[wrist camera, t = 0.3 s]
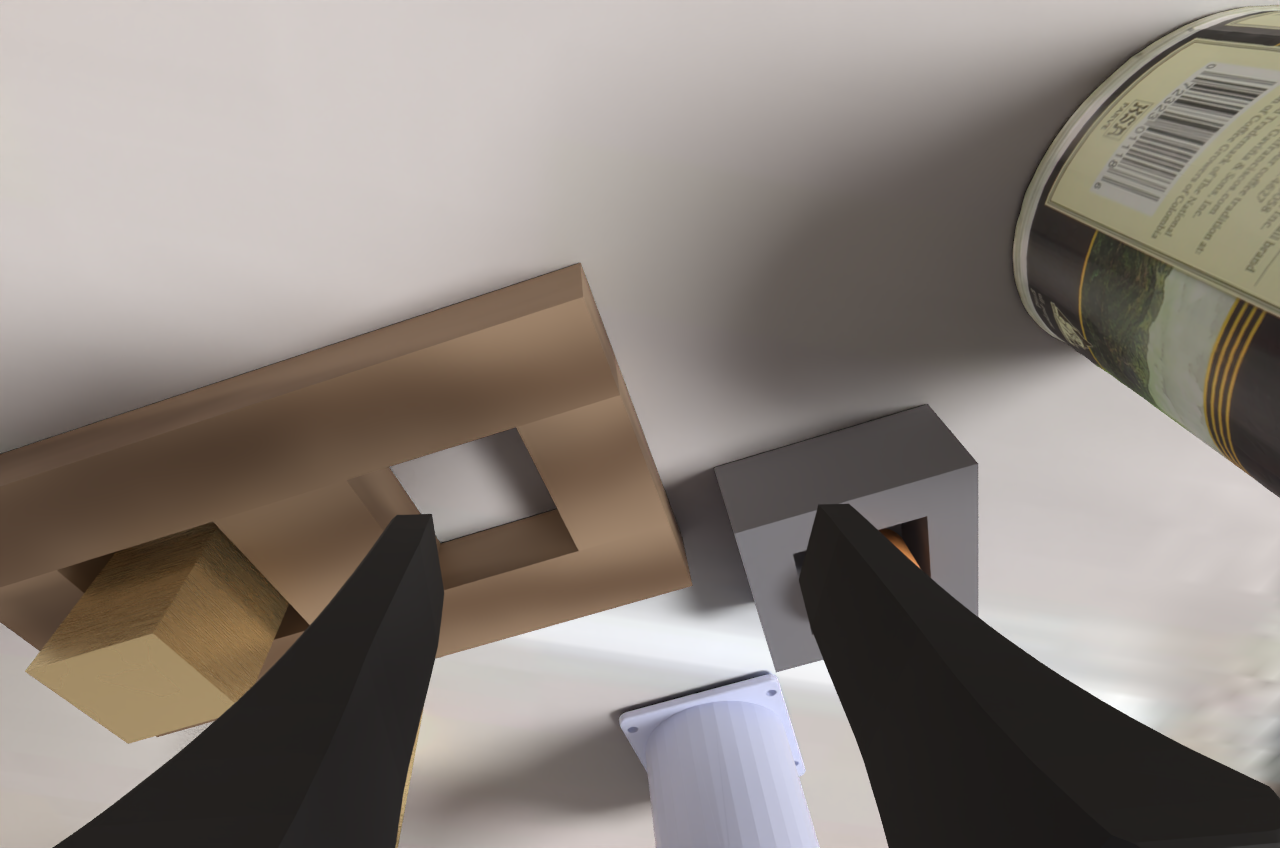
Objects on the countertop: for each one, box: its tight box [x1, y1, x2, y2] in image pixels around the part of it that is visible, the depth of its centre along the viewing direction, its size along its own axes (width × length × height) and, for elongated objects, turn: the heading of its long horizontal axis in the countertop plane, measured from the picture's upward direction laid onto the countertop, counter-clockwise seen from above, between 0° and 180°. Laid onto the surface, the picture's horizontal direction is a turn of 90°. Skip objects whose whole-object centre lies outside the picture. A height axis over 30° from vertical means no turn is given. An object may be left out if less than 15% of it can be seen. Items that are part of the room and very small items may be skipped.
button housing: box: [714, 404, 978, 672], centre depth 25 cm, size 8×8×4 cm
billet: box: [25, 522, 289, 744], centre depth 22 cm, size 4×4×6 cm
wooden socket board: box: [0, 263, 693, 737], centre depth 23 cm, size 12×22×2 cm, turn 107°
